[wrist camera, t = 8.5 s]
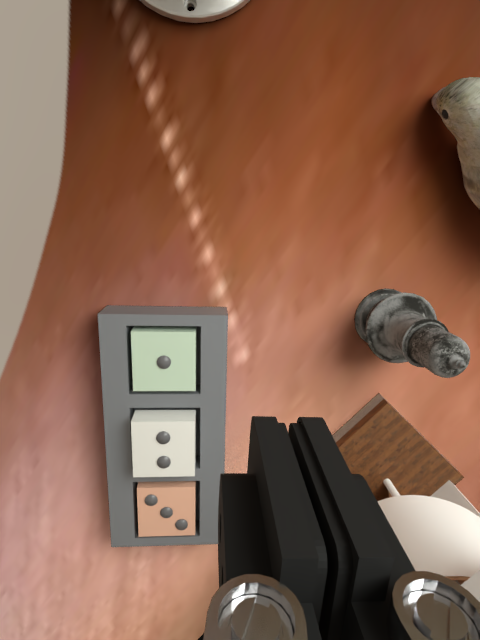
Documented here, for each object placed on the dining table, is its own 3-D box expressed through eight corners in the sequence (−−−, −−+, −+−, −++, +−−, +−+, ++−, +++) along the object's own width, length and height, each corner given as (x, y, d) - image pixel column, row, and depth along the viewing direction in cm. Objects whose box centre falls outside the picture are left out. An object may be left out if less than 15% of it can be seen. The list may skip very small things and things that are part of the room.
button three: (140, 473, 37) (136, 488, 35) (195, 472, 37) (195, 487, 35) (142, 520, 38) (138, 537, 36) (195, 519, 39) (195, 536, 37)
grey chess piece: (358, 357, 37) (425, 422, 25) (345, 295, 36) (410, 335, 24) (420, 339, 37) (516, 396, 25) (410, 277, 35) (507, 308, 24)
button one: (135, 324, 34) (130, 331, 32) (196, 325, 34) (195, 332, 32) (137, 381, 35) (132, 391, 33) (196, 381, 35) (195, 391, 33)
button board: (107, 305, 34) (97, 313, 31) (226, 307, 35) (227, 315, 32) (118, 522, 40) (111, 547, 37) (221, 520, 40) (222, 543, 38)
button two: (135, 409, 34) (130, 422, 32) (195, 409, 34) (194, 421, 32) (137, 462, 35) (132, 478, 33) (195, 462, 36) (194, 477, 34)
